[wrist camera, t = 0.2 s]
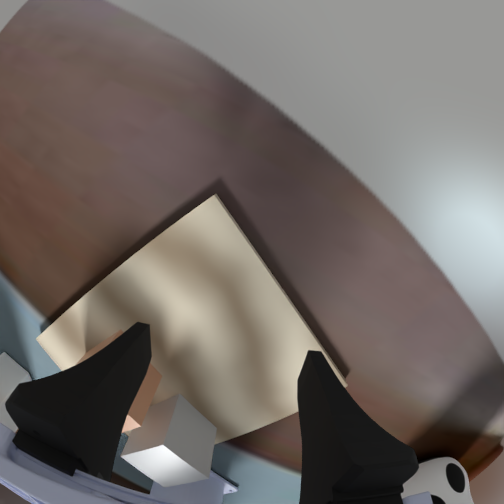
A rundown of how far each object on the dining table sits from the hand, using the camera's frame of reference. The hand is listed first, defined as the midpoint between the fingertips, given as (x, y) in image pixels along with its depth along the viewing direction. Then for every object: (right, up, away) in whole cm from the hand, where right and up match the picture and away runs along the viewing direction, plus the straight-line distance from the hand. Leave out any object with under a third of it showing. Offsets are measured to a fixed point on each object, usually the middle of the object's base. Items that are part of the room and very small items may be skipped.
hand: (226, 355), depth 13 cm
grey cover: (-6, -12, +13) cm, 19 cm away
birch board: (-6, -6, +13) cm, 15 cm away
